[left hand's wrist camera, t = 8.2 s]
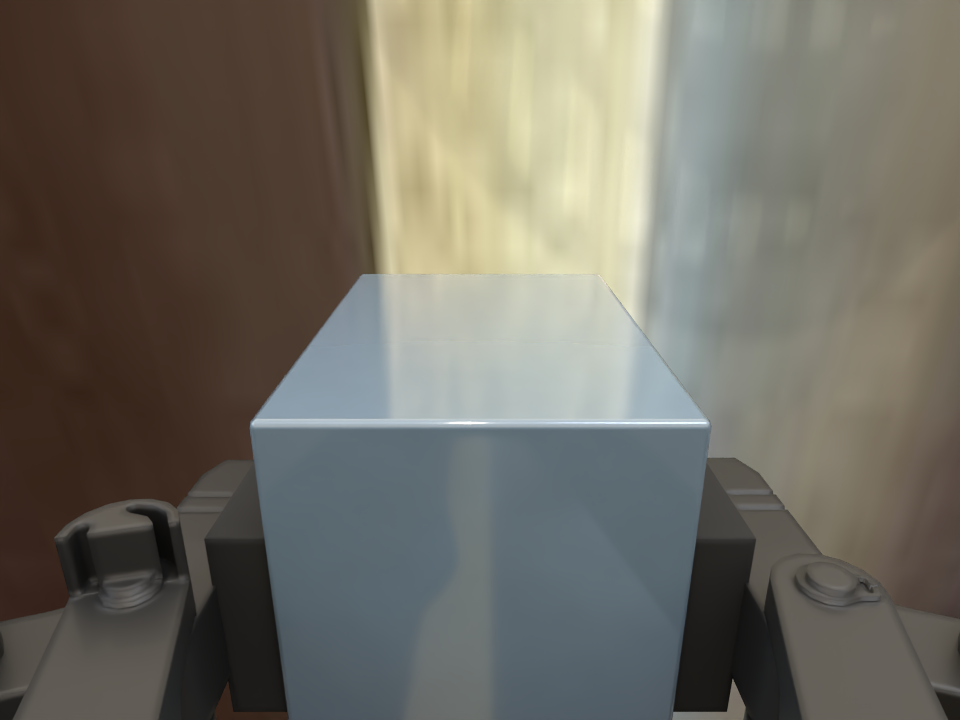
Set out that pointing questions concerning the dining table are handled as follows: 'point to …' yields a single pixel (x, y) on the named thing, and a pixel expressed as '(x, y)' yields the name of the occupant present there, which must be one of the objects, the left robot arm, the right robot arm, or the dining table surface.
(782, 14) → the dining table surface
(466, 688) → the block
